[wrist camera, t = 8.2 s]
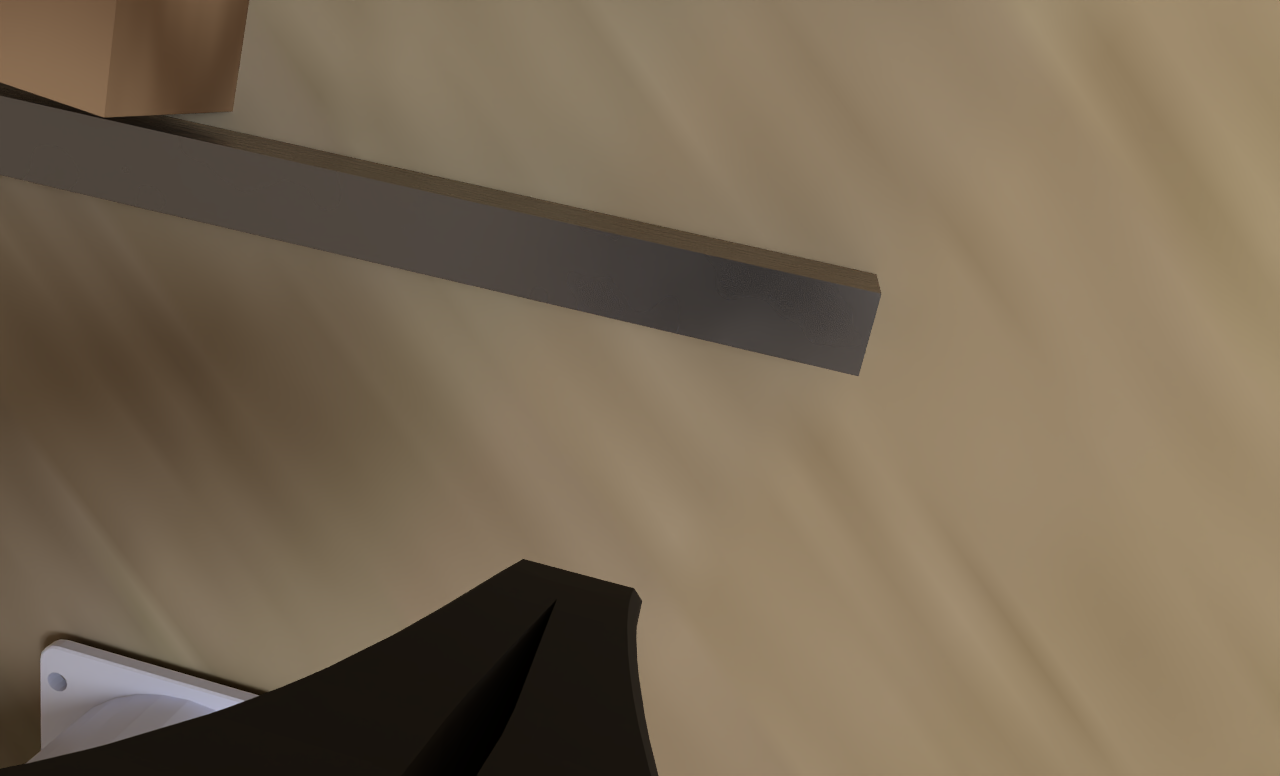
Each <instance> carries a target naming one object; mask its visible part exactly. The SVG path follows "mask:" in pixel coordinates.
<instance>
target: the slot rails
mask: <svg viewBox="0 0 1280 776" xmlns="http://www.w3.org/2000/svg"><path fill="white" fill-rule="evenodd" d="M0 175H3V176H8V177H12V178H16V179H20V180H25V181H29V182H33V183H37V184H42V185H46V186H50V187H54V188H59V189H63V190H67V191H71V192H76V193H80V194H84V195H88V196H93V197H97V198H101V199H106V200H110V201H114V202H118V203H123V204H127V205H131V206H135V207H140V208H144V209H148V210H152V211H157V212H161V213H165V214H169V215H174V216H178V217H182V218H186V219H191V220H195V221H199V222H204V223H208V224H212V225H216V226H221V227H225V228H229V229H233V230H238V231H242V232H246V233H250V234H255V235H259V236H263V237H267V238H272V239H276V240H280V241H284V242H289V243H293V244H297V245H302V246H306V247H310V248H314V249H319V250H323V251H327V252H331V253H336V254H340V255H344V256H348V257H353V258H357V259H361V260H365V261H370V262H374V263H378V264H382V265H387V266H391V267H395V268H400V269H404V270H408V271H412V272H417V273H421V274H425V275H429V276H434V277H438V278H442V279H446V280H451V281H455V282H459V283H463V284H468V285H472V286H476V287H480V288H485V289H489V290H493V291H498V292H502V293H506V294H510V295H515V296H519V297H523V298H527V299H532V300H536V301H540V302H544V303H549V304H553V305H557V306H561V307H566V308H570V309H574V310H578V311H583V312H587V313H591V314H596V315H600V316H604V317H608V318H613V319H617V320H621V321H625V322H630V323H634V324H638V325H642V326H647V327H651V328H655V329H659V330H664V331H668V332H672V333H676V334H681V335H685V336H689V337H694V338H698V339H702V340H706V341H711V342H715V343H719V344H723V345H728V346H732V347H736V348H740V349H745V350H749V351H753V352H757V353H762V354H766V355H770V356H774V357H779V358H783V359H787V360H792V361H796V362H800V363H804V364H809V365H813V366H817V367H821V368H826V369H830V370H834V371H838V372H843V373H847V374H851V375H855V376H859V372H860V369H861V365H862V362H863V358H864V354H865V351H866V347H867V344H868V340H869V336H870V333H871V329H872V326H873V322H874V318H875V315H876V311H877V308H878V304H879V300H880V297H881V290H880V287H879V283H878V279H877V275H876V274H872V273H867V272H863V271H858V270H854V269H849V268H845V267H840V266H836V265H831V264H827V263H822V262H818V261H814V260H809V259H805V258H800V257H796V256H791V255H787V254H782V253H778V252H773V251H769V250H764V249H760V248H755V247H751V246H746V245H742V244H737V243H733V242H728V241H724V240H719V239H715V238H710V237H706V236H701V235H697V234H692V233H688V232H683V231H679V230H674V229H670V228H665V227H661V226H656V225H652V224H647V223H643V222H638V221H634V220H629V219H625V218H620V217H616V216H611V215H607V214H602V213H598V212H594V211H589V210H585V209H580V208H576V207H571V206H567V205H562V204H558V203H553V202H549V201H544V200H540V199H535V198H531V197H526V196H522V195H517V194H513V193H508V192H504V191H499V190H495V189H490V188H486V187H481V186H477V185H472V184H468V183H463V182H459V181H454V180H450V179H445V178H441V177H436V176H432V175H427V174H423V173H418V172H414V171H409V170H405V169H400V168H396V167H391V166H387V165H382V164H378V163H374V162H369V161H365V160H360V159H356V158H351V157H347V156H342V155H338V154H333V153H329V152H324V151H320V150H315V149H311V148H306V147H302V146H297V145H293V144H288V143H284V142H279V141H275V140H270V139H266V138H261V137H257V136H252V135H248V134H243V133H239V132H234V131H230V130H225V129H221V128H216V127H212V126H207V125H203V124H198V123H194V122H189V121H185V120H180V119H176V118H171V117H167V116H162V115H146V116H125V117H101V116H98V115H95V114H92V113H89V112H86V111H83V110H80V109H78V108H75V107H72V106H69V105H66V104H63V103H60V102H57V101H54V100H51V99H48V98H45V97H42V96H39V95H36V94H33V93H30V92H27V91H24V90H22V89H19V88H16V87H13V86H10V85H7V84H4V83H1V82H0Z"/></svg>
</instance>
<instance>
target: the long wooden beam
mask: <svg viewBox="0 0 1280 776" xmlns="http://www.w3.org/2000/svg"><path fill="white" fill-rule="evenodd" d="M248 5H249V0H0V82H1V83H4V84H7V85H10V86H13V87H16V88H19V89H22V90H24V91H27V92H30V93H33V94H36V95H39V96H42V97H45V98H48V99H51V100H54V101H57V102H60V103H63V104H66V105H69V106H72V107H75V108H78V109H80V110H83V111H86V112H89V113H92V114H95V115H98V116H101V117H125V116H146V115H166V114H187V113H208V112H228V111H233V105H234V98H235V91H236V85H237V78H238V71H239V65H240V58H241V51H242V45H243V38H244V31H245V25H246V18H247V11H248Z"/></svg>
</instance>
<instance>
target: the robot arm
mask: <svg viewBox="0 0 1280 776" xmlns="http://www.w3.org/2000/svg"><path fill="white" fill-rule="evenodd" d="M641 604H642V600H641V599H640V597H639V595H638V594H637V592H636V591H635V589H634V588H630V587H627V586H623V585H619V584H615V583H611V582H608V581H604V580H600V579H596V578H593V577H589V576H585V575H581V574H578V573H574V572H570V571H566V570H563V569H559V568H555V567H551V566H547V565H544V564H540V563H536V562H532V561H529V560H525V559H522V560H521V561H519V562H517V563H515V564H514V565H512V566H510V567H508V568H507V569H505V570H503V571H501V572H500V573H498V574H496V575H495V576H493V577H491V578H490V579H488V580H486V581H485V582H483V583H482V584H480V585H478V586H477V587H475V588H473V589H472V590H470V591H468V592H467V593H465V594H463V595H462V596H460V597H459V598H457V599H455V600H454V601H452V602H450V603H449V604H447V605H445V606H444V607H442V608H440V609H438V610H437V611H435V612H433V613H431V614H429V615H428V616H426V617H424V618H422V619H421V620H419V621H417V622H415V623H414V624H412V625H410V626H408V627H407V628H405V629H403V630H401V631H399V632H398V633H396V634H394V635H392V636H390V637H388V638H386V639H384V640H382V641H380V642H378V643H376V644H374V645H372V646H370V647H368V648H366V649H364V650H362V651H360V652H358V653H356V654H354V655H352V656H350V657H348V658H346V659H344V660H342V661H340V662H338V663H336V664H334V665H332V666H330V667H328V668H325V669H323V670H321V671H319V672H316V673H314V674H312V675H310V676H307V677H305V678H303V679H300V680H298V681H295V682H293V683H290V684H288V685H286V686H283V687H281V688H278V689H276V690H273V691H270V692H268V693H265V694H262V695H260V696H259V695H256V694H252V693H249V692H245V691H242V690H239V689H235V688H232V687H228V686H225V685H221V684H218V683H214V682H211V681H208V680H204V679H201V678H197V677H194V676H190V675H187V674H184V673H180V672H177V671H173V670H170V669H166V668H163V667H159V666H156V665H153V664H149V663H146V662H142V661H139V660H135V659H132V658H128V657H125V656H122V655H118V654H115V653H111V652H108V651H104V650H101V649H97V648H94V647H91V646H87V645H84V644H80V643H77V642H73V641H70V640H64V639H59V640H57V641H54V642H53V643H51V644H50V645H49V646H47V647H46V648H45V649H44V650H43V651H42V653H41V657H40V686H41V751H40V752H38V753H37V754H36V755H35V756H34V757H33V758H31V759H30V760H29V761H28V762H27V763H25V764H22V765H17V766H12V767H7V768H2V769H0V776H658V772H657V768H656V764H655V760H654V756H653V752H652V748H651V744H650V740H649V735H648V730H647V725H646V720H645V715H644V708H643V701H642V695H641V688H640V682H639V674H638V664H637V644H636V629H637V622H638V618H639V613H640V609H641ZM61 675H62V676H63V677H64V678H65V679H66V680H65V679H64V678H63V677H62V676H61Z"/></svg>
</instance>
